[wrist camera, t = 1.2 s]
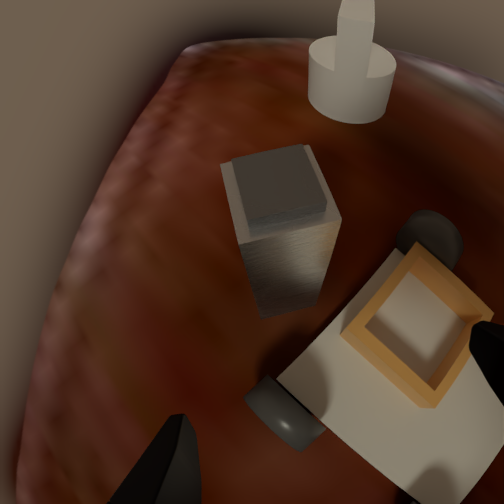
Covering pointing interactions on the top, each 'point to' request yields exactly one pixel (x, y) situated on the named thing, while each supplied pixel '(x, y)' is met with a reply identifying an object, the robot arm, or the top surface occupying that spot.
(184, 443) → the robot arm
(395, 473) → the chassis
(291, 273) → the grey box
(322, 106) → the base with upright slab
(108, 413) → the top surface
